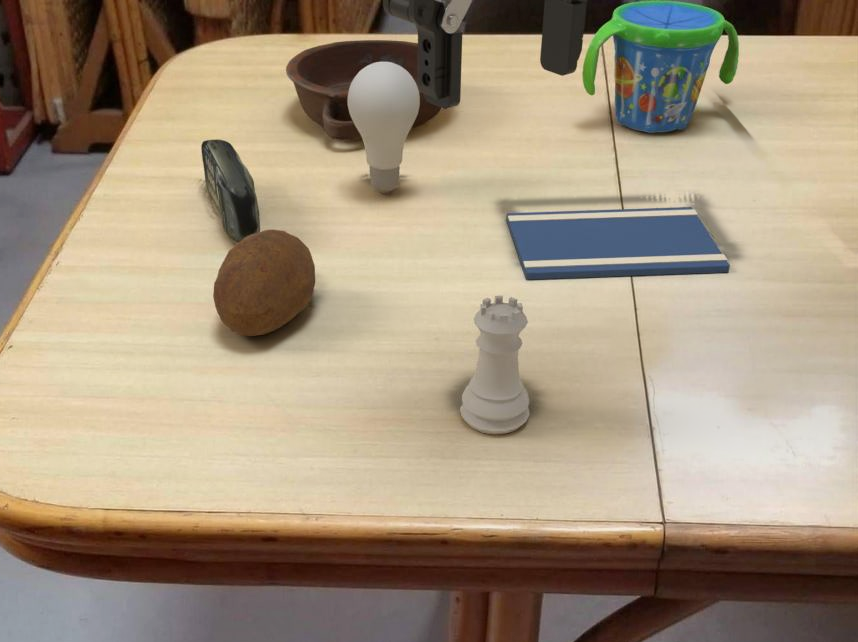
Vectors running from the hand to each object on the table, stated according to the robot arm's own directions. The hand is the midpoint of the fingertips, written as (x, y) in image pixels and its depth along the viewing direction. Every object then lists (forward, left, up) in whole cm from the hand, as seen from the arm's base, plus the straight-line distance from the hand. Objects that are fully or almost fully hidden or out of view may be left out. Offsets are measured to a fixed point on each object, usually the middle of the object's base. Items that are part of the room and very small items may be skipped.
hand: (501, 87), depth 58 cm
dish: (+5, -53, -20) cm, 57 cm away
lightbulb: (+5, -33, -20) cm, 39 cm away
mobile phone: (+18, -28, -20) cm, 39 cm away
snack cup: (-23, -48, -20) cm, 57 cm away
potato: (+15, -11, -20) cm, 27 cm away
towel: (-13, -21, -20) cm, 32 cm away
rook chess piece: (0, +3, -20) cm, 20 cm away
